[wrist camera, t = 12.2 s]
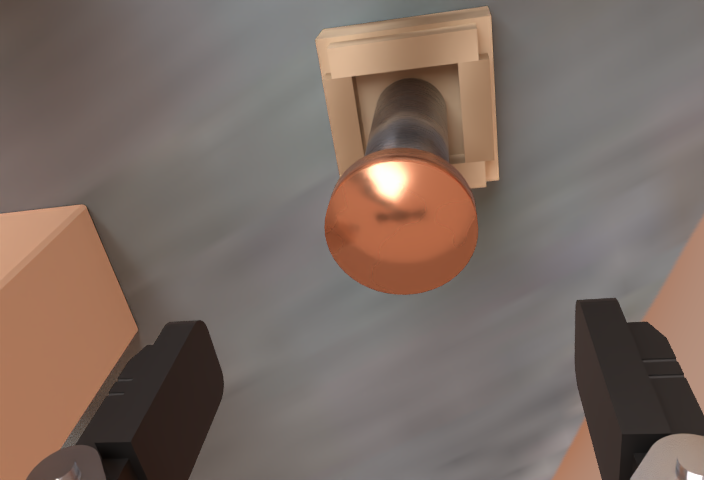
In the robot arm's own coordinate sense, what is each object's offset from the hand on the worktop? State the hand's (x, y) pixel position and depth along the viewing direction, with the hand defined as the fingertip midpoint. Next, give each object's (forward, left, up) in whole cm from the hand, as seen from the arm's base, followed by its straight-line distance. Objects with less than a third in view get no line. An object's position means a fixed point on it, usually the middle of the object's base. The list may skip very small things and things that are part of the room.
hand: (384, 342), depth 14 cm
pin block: (0, 0, -17) cm, 17 cm away
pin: (0, 0, -15) cm, 15 cm away
